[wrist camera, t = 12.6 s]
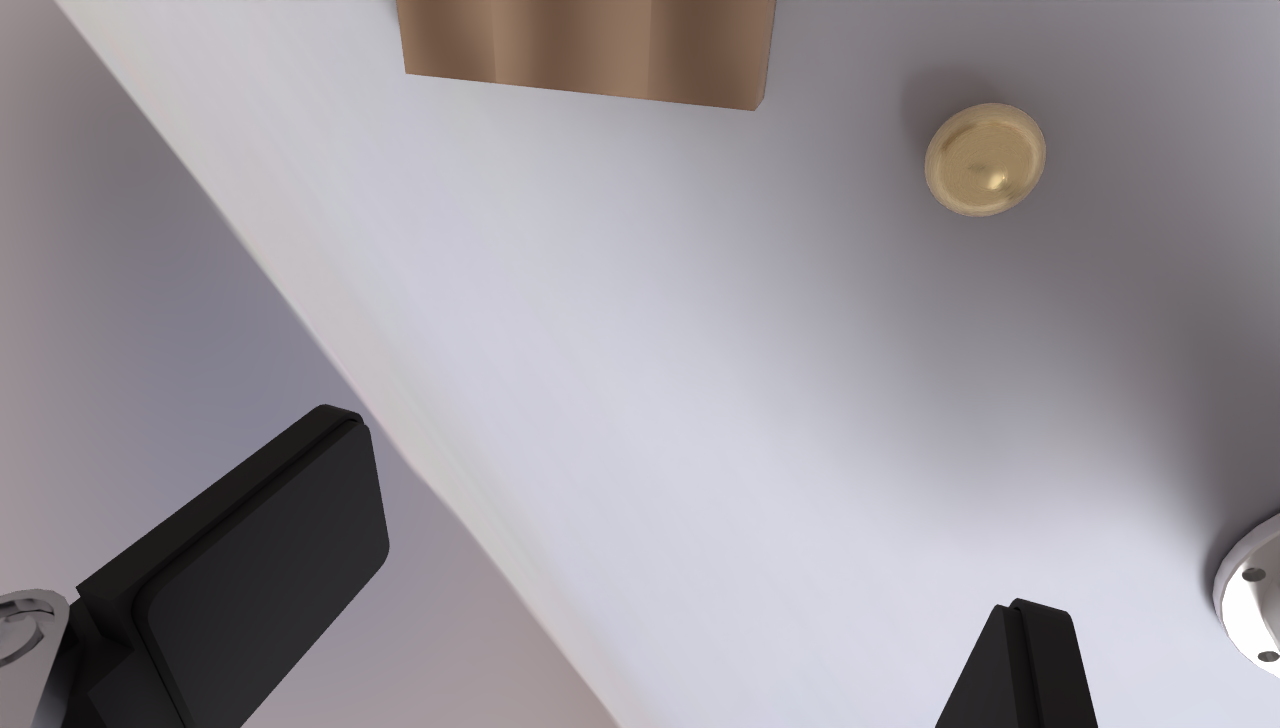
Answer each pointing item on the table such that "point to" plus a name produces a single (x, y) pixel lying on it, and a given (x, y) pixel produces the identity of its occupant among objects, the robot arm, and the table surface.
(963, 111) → the brass ball
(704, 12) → the pocket plate
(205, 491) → the robot arm
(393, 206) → the table surface
